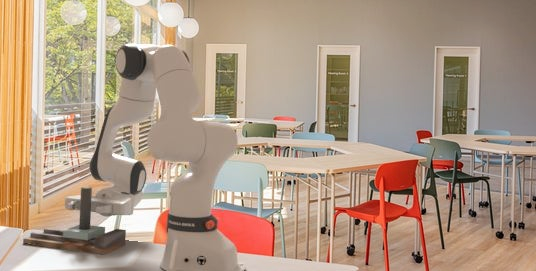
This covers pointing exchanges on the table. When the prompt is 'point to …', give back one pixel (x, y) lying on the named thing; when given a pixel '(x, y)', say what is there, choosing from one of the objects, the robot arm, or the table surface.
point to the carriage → (84, 220)
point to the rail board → (78, 241)
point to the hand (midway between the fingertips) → (83, 208)
